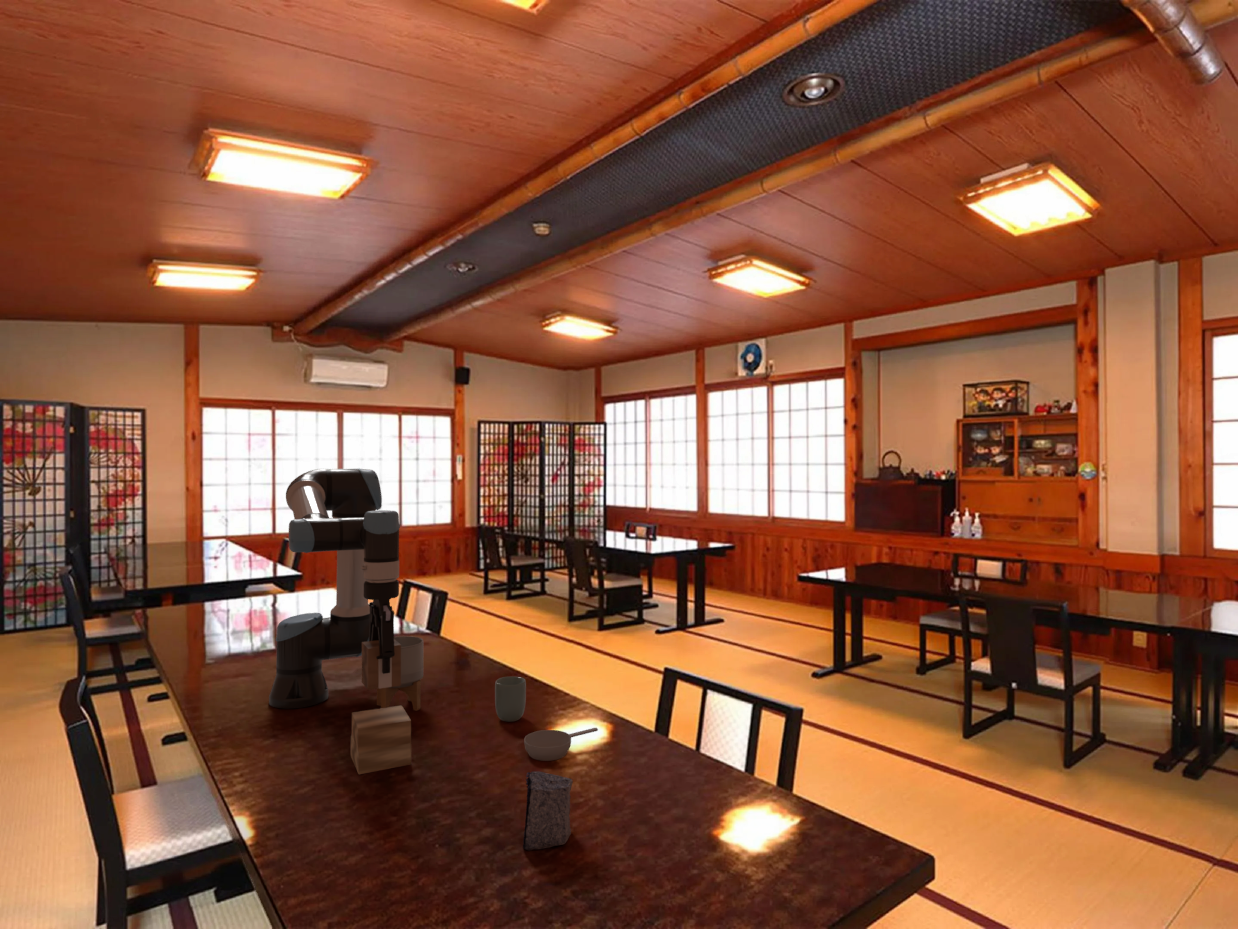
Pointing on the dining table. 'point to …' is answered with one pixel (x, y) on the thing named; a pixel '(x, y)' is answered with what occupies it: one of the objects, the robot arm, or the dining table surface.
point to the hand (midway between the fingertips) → (381, 682)
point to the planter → (406, 673)
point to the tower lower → (380, 757)
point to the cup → (510, 698)
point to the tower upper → (381, 728)
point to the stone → (547, 810)
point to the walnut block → (371, 664)
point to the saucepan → (550, 743)
